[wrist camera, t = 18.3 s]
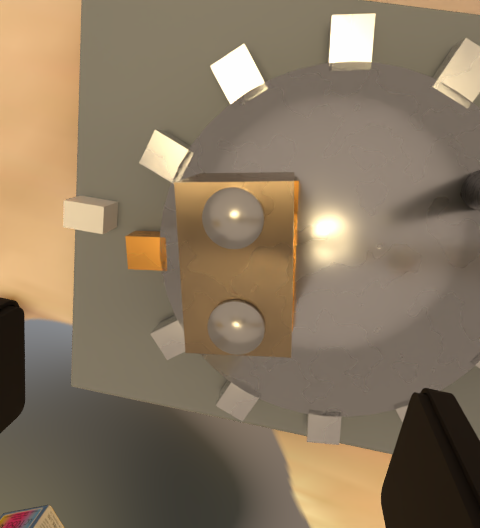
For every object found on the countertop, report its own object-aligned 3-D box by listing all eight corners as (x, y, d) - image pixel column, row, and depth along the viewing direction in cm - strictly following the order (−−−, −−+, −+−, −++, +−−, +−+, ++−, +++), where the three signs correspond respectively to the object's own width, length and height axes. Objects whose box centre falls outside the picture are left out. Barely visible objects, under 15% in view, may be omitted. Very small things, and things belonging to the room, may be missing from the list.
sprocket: (455, -88, 19) (530, -196, 13) (624, 339, 24) (739, 410, 17) (60, 173, 25) (-16, 184, 19) (255, 474, 30) (244, 563, 23)
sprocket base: (711, 52, 21) (782, 37, 18) (526, 470, 28) (553, 510, 25) (93, -27, 23) (62, -52, 20) (79, 377, 31) (55, 403, 28)
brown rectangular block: (294, 171, 22) (293, 182, 17) (292, 314, 24) (291, 360, 19) (200, 173, 22) (171, 183, 17) (206, 311, 25) (183, 356, 20)
